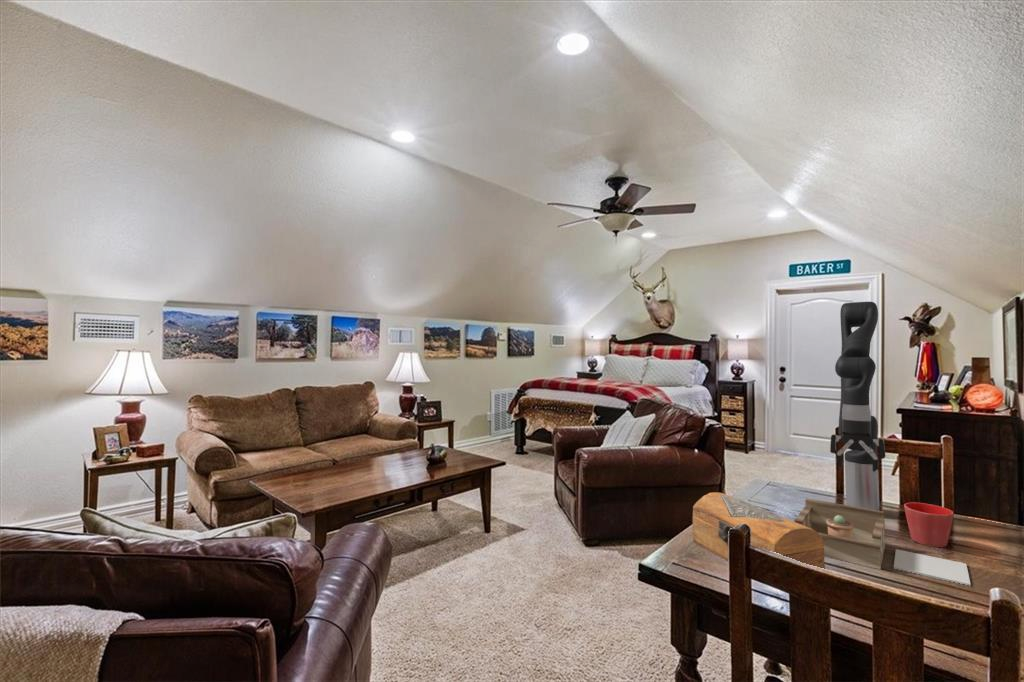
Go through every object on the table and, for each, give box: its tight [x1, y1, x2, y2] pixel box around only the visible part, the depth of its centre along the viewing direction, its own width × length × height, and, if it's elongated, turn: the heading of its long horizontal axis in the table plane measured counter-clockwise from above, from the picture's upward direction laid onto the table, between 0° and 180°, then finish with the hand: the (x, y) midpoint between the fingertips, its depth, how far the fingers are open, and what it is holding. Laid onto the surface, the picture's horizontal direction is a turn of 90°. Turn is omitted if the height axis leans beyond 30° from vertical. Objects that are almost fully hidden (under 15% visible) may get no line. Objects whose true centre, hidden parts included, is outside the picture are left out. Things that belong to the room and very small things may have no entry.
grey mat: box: [893, 548, 971, 587], centre depth 120 cm, size 14×14×1 cm
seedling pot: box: [826, 515, 853, 539], centre depth 133 cm, size 6×6×9 cm
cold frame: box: [794, 497, 886, 570], centre depth 133 cm, size 19×19×10 cm
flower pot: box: [903, 501, 954, 548], centre depth 136 cm, size 11×11×10 cm
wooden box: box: [692, 491, 826, 570], centre depth 126 cm, size 30×16×14 cm, turn 16°
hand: (857, 469), depth 152 cm, fingers open, 8 cm apart
